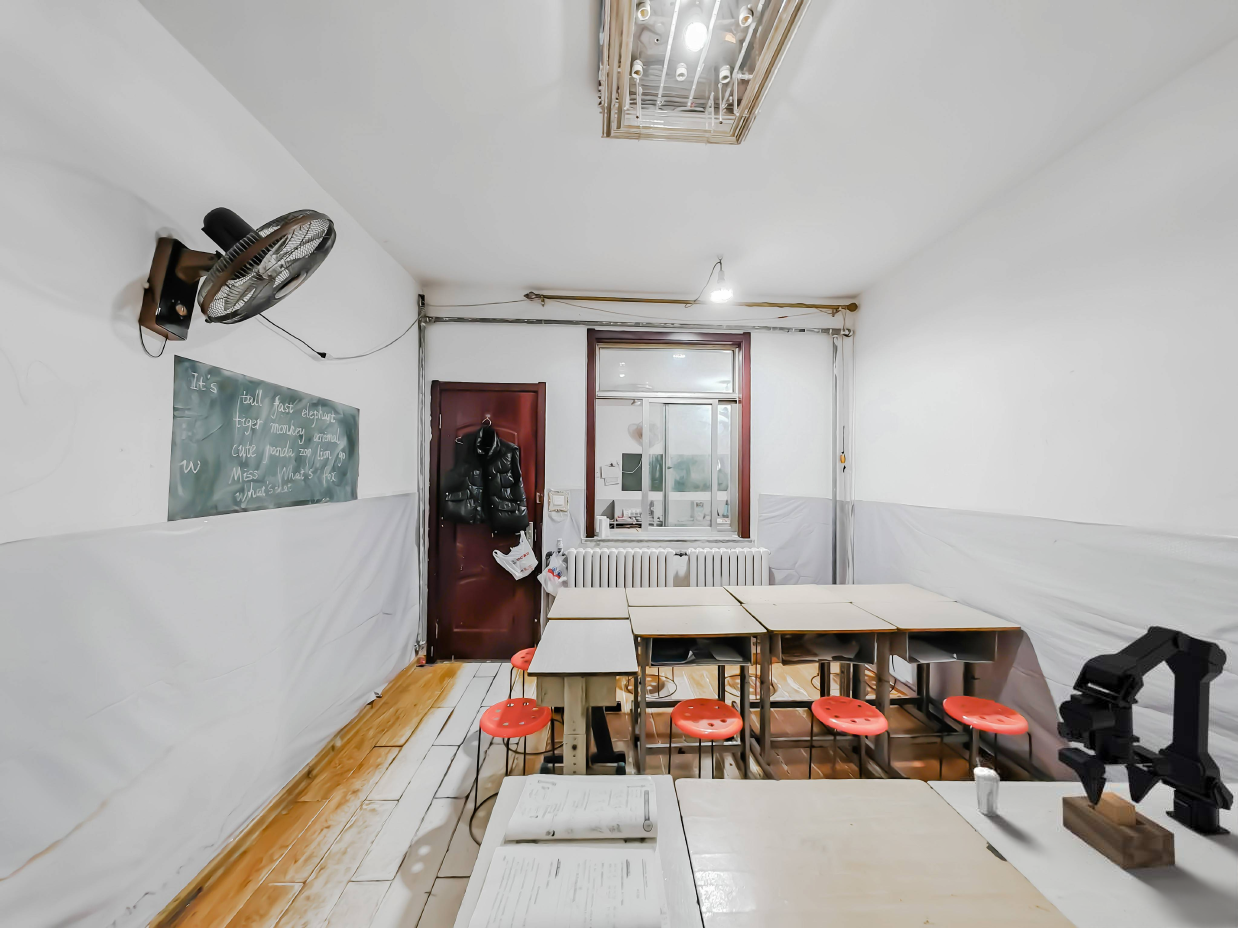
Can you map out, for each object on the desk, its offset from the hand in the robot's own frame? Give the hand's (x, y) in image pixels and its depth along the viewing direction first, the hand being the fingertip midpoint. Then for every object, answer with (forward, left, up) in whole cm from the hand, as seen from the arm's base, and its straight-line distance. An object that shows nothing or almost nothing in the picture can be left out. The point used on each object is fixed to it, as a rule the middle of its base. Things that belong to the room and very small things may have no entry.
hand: (1114, 802), depth 94 cm
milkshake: (+18, -11, -8) cm, 23 cm away
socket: (0, 0, -8) cm, 8 cm away
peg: (0, 0, -7) cm, 7 cm away
